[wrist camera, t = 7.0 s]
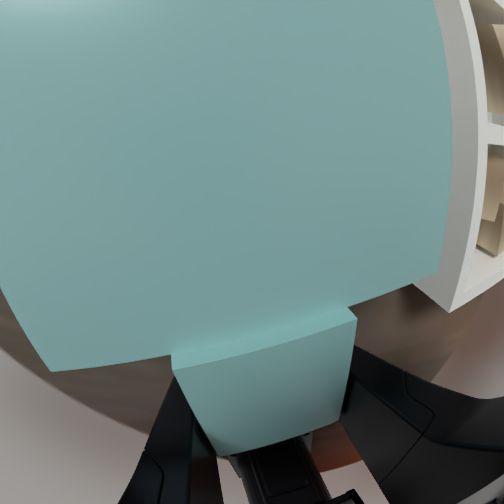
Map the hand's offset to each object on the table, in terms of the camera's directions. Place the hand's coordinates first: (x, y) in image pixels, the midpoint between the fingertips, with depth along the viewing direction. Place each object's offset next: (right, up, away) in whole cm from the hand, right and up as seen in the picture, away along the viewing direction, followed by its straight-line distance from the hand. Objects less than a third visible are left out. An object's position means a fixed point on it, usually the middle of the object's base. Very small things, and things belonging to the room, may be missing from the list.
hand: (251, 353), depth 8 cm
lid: (0, +4, -3) cm, 5 cm away
